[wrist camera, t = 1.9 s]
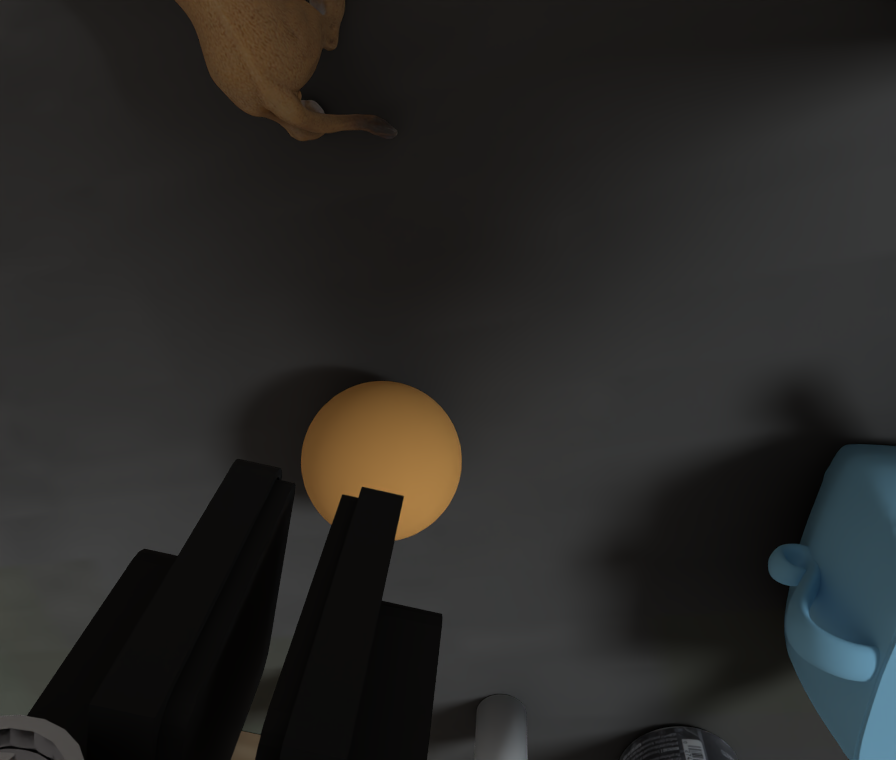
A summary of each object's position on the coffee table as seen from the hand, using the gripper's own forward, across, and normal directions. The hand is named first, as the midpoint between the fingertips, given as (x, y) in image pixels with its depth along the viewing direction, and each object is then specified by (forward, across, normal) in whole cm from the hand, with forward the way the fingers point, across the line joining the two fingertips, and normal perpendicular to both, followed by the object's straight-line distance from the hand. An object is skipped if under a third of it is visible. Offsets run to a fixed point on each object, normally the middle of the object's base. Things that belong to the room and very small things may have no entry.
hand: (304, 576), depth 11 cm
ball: (+19, 0, +10) cm, 21 cm away
